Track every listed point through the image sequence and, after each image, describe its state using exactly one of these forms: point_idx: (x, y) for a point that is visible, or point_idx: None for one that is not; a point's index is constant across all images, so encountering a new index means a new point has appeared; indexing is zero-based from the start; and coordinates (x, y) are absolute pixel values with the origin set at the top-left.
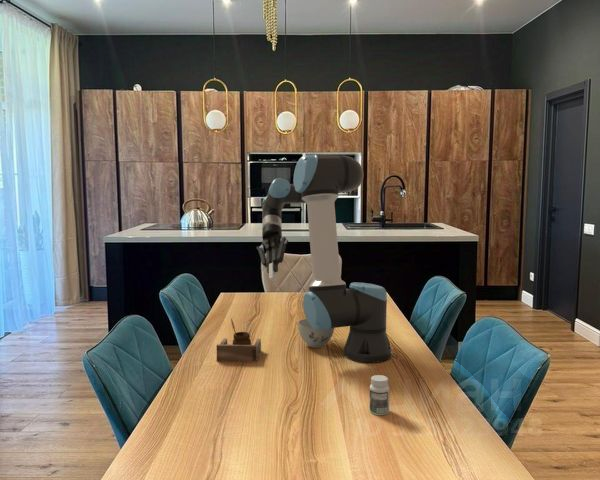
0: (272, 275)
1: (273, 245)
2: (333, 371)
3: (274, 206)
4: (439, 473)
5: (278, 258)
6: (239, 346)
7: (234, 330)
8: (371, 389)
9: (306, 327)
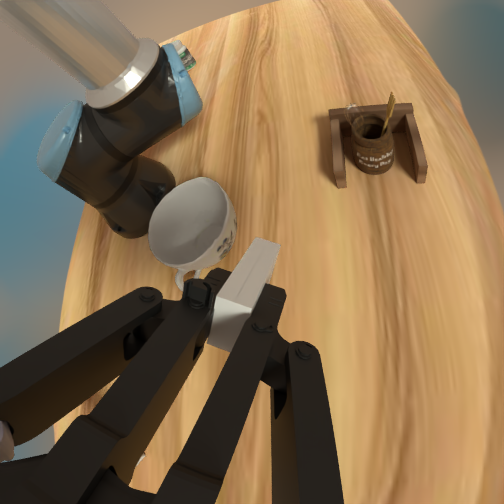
0: (253, 243)
1: (85, 428)
2: (206, 127)
3: None
4: (184, 32)
5: (147, 289)
6: (363, 106)
7: (386, 117)
8: (185, 46)
9: (212, 180)
